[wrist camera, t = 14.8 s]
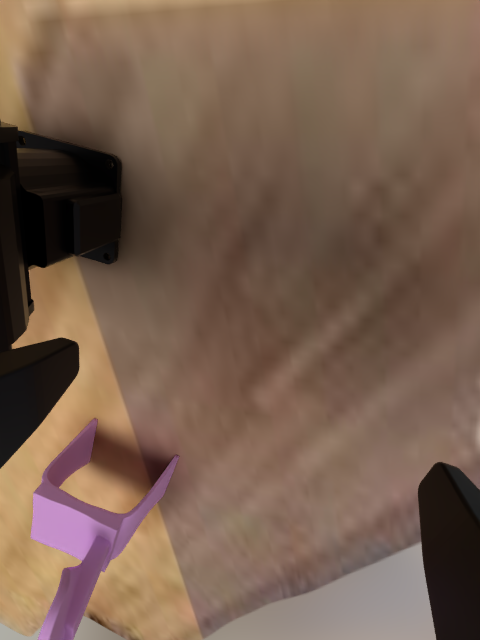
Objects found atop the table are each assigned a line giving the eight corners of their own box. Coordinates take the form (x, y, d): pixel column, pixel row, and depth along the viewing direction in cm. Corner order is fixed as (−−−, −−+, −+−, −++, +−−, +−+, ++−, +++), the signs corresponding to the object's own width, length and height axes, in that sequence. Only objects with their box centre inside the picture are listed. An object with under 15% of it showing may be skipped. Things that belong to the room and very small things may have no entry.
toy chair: (90, 407, 29) (-102, 616, 16) (182, 448, 29) (64, 695, 16) (80, 464, 33) (-80, 669, 20) (161, 501, 33) (53, 733, 20)
